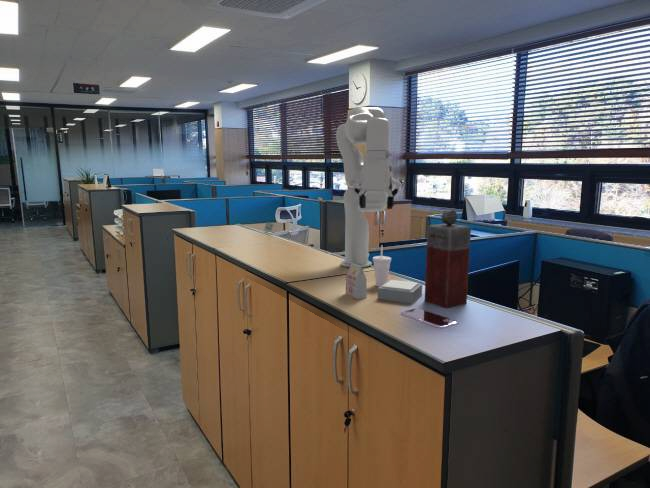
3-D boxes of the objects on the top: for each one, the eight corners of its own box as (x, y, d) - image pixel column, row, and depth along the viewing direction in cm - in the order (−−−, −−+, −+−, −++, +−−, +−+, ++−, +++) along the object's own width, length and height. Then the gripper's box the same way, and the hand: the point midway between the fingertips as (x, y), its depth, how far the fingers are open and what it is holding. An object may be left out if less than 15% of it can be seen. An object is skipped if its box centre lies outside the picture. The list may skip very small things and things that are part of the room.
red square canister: (439, 294, 151) (443, 207, 147) (467, 303, 142) (472, 210, 137) (418, 299, 146) (422, 208, 142) (446, 308, 137) (451, 211, 133)
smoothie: (369, 286, 161) (370, 246, 159) (374, 282, 167) (375, 243, 165) (388, 288, 159) (389, 247, 156) (392, 284, 165) (393, 244, 162)
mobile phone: (417, 307, 136) (460, 320, 124) (417, 310, 136) (460, 324, 125) (398, 311, 132) (441, 326, 120) (398, 315, 132) (440, 330, 120)
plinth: (388, 290, 156) (389, 278, 155) (421, 294, 151) (422, 282, 151) (377, 299, 146) (378, 286, 146) (412, 303, 142) (413, 290, 141)
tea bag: (355, 292, 154) (356, 262, 152) (366, 297, 148) (366, 266, 146) (345, 293, 152) (346, 263, 151) (355, 299, 146) (356, 267, 145)
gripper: (405, 156, 156) (404, 208, 159) (357, 157, 164) (356, 207, 167) (398, 155, 150) (397, 209, 152) (348, 156, 158) (348, 208, 160)
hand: (376, 208), depth 159 cm, fingers open, 9 cm apart
